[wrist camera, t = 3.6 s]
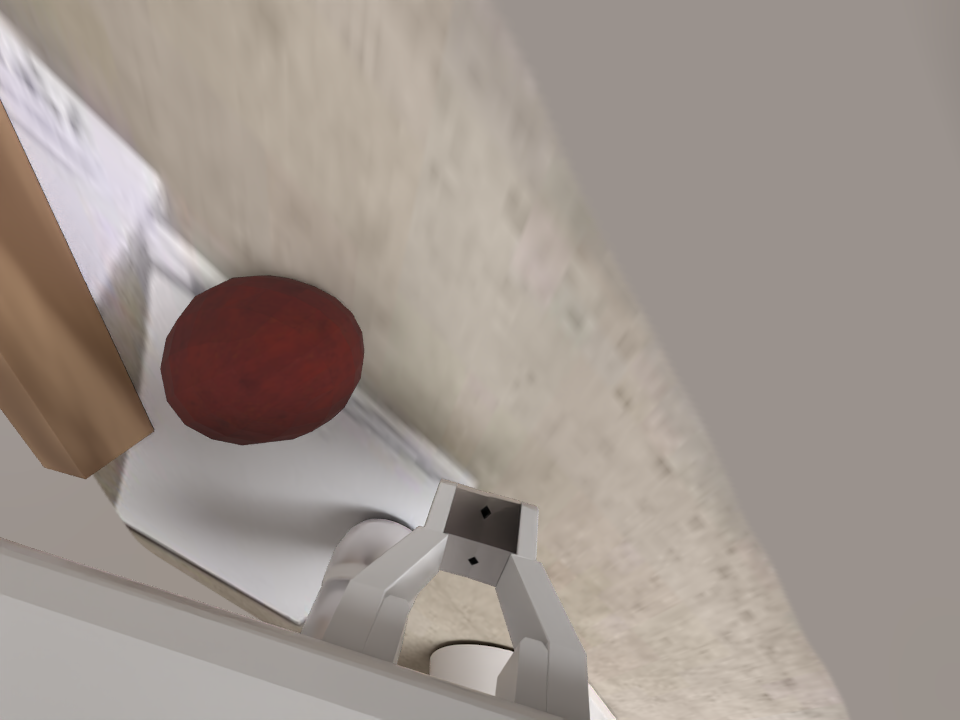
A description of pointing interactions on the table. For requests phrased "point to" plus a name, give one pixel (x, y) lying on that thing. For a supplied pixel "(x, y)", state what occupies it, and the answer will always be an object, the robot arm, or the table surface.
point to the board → (55, 337)
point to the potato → (261, 360)
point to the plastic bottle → (351, 567)
